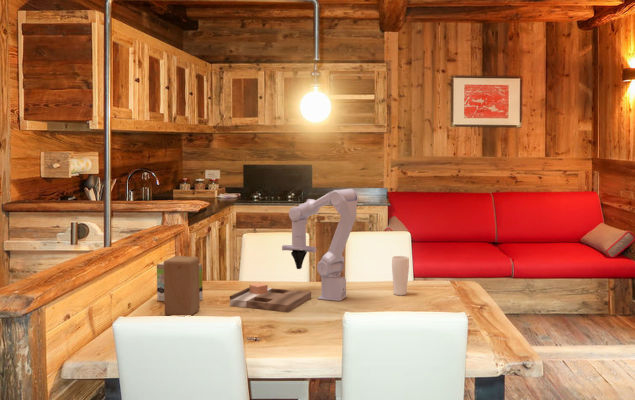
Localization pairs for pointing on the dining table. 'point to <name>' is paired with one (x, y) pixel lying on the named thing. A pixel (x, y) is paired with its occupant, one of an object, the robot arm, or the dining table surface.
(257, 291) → the terracotta block
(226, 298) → the dining table surface
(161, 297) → the tea box
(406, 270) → the drinking glass
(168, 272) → the wooden block
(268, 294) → the trap board
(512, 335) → the dining table surface
